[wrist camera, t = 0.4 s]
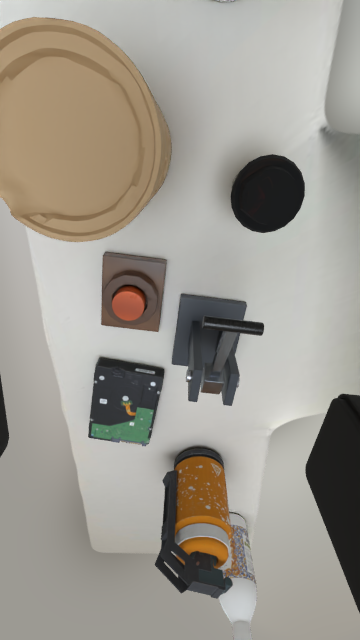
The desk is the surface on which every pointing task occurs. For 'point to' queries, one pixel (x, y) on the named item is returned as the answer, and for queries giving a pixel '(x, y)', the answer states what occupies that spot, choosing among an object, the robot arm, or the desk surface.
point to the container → (76, 131)
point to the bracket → (205, 342)
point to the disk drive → (124, 401)
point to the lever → (224, 348)
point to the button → (129, 303)
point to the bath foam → (239, 581)
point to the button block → (138, 274)
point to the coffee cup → (267, 193)
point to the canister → (196, 524)
